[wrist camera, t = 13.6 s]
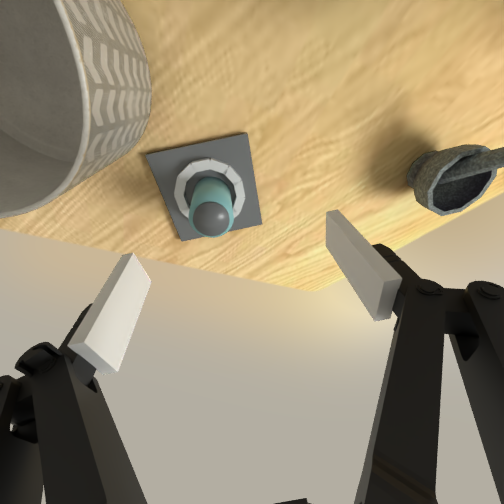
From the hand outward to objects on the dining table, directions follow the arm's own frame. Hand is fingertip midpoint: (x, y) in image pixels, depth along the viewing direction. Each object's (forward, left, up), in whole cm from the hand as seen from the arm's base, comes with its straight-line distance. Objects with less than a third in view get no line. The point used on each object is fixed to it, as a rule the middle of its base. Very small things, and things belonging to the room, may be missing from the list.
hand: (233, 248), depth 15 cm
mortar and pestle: (+7, +33, -22) cm, 40 cm away
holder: (+3, -3, -22) cm, 22 cm away
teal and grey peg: (+3, -3, -21) cm, 21 cm away
